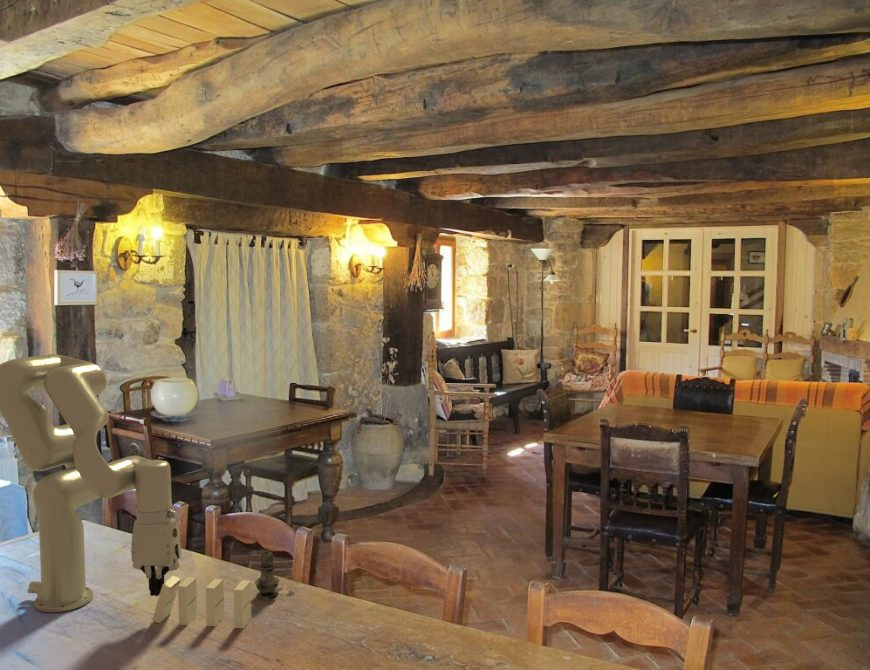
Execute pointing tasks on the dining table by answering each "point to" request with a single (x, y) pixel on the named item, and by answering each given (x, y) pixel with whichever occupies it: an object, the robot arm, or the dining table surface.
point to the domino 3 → (214, 602)
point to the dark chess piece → (267, 578)
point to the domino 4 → (242, 604)
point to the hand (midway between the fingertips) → (156, 593)
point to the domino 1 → (166, 599)
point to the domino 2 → (187, 600)
